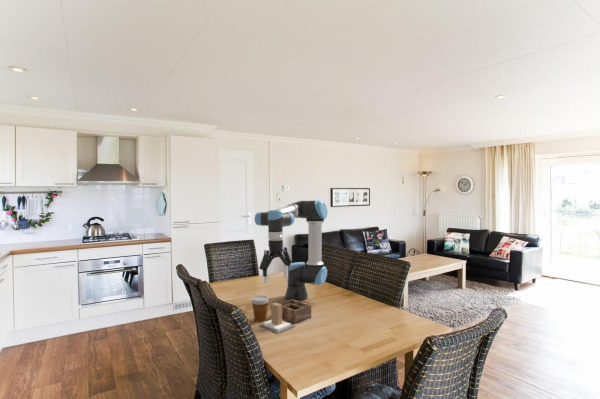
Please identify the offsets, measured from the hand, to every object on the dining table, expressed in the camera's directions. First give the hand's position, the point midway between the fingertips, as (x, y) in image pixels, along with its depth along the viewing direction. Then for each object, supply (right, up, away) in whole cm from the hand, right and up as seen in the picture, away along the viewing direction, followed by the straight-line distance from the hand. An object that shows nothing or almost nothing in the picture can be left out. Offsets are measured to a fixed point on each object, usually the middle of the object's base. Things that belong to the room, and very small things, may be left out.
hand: (276, 280), depth 173 cm
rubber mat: (0, -24, 0) cm, 24 cm away
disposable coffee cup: (-9, -25, +10) cm, 28 cm away
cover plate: (0, -24, 0) cm, 24 cm away
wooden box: (+9, -24, +13) cm, 29 cm away
